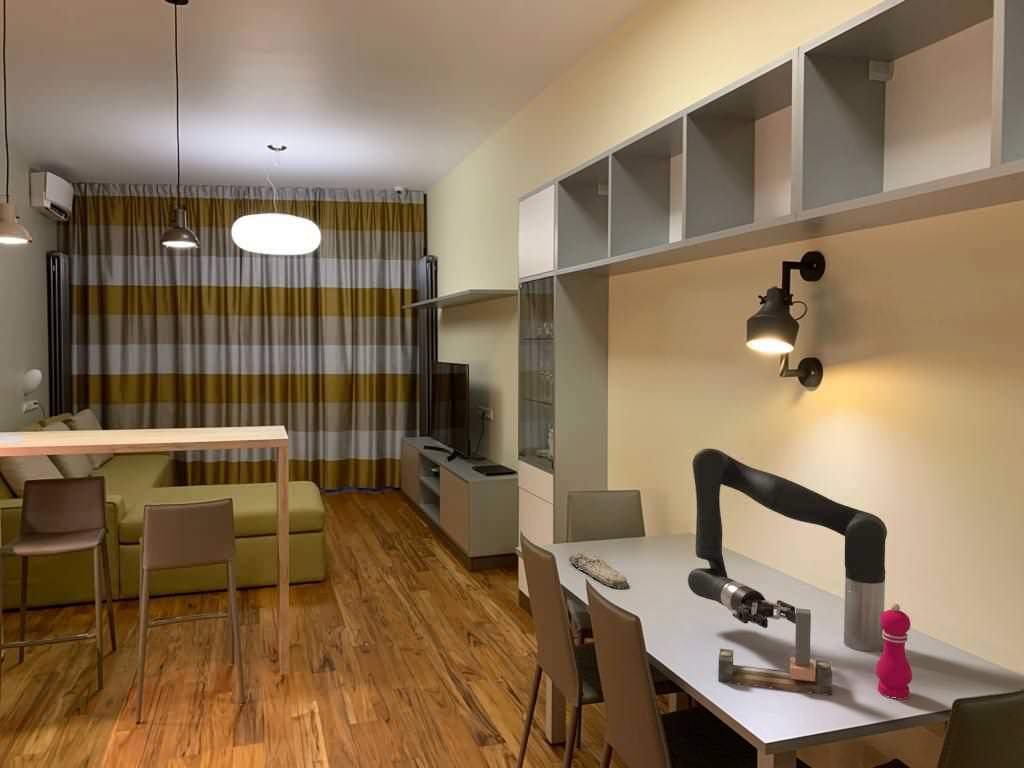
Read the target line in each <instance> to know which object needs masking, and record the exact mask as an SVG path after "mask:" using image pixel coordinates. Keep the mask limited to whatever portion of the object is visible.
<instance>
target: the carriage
mask: <svg viewBox="0 0 1024 768" xmlns="http://www.w3.org/2000/svg"><path fill="white" fill-rule="evenodd" d="M795 613H796V624H795V634H794V637H795V638H794V639H795V642H794V644H795V645H794V650H795V651H794V656H790V657H789V671H790V676H791V679H799V680H807V681H815V662H814V659H812V658H811V632H812V631H811V630H812V629H811V628H812V627H811V626H812V624H811V622H812V612H811V609H808V608H799V607H798V608H796V607H795Z"/></svg>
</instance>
